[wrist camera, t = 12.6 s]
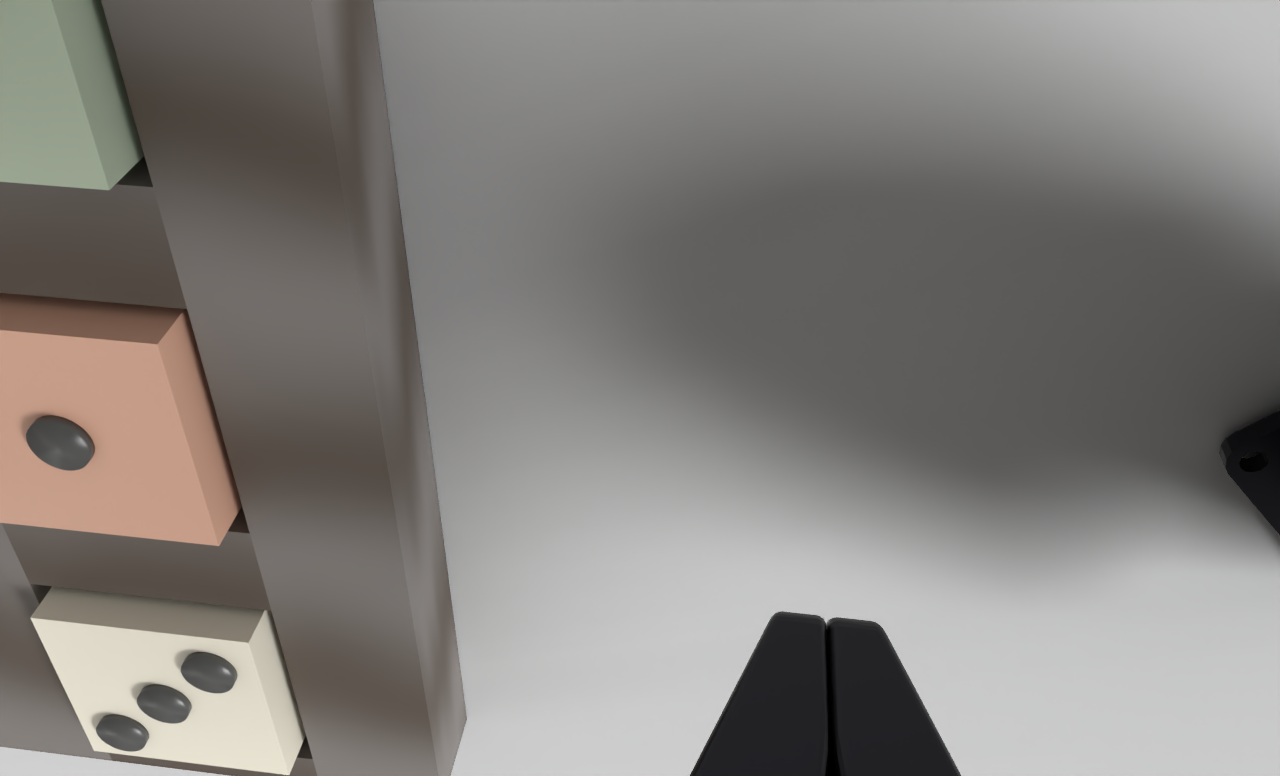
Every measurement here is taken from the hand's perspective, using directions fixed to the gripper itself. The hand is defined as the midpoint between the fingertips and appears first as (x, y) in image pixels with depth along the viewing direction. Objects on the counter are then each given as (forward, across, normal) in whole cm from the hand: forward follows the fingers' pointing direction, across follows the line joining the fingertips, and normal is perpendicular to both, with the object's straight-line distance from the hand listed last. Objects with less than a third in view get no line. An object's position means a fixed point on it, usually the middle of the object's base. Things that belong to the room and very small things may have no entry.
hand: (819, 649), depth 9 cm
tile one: (+13, +13, +7) cm, 20 cm away
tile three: (+13, +13, +15) cm, 24 cm away
